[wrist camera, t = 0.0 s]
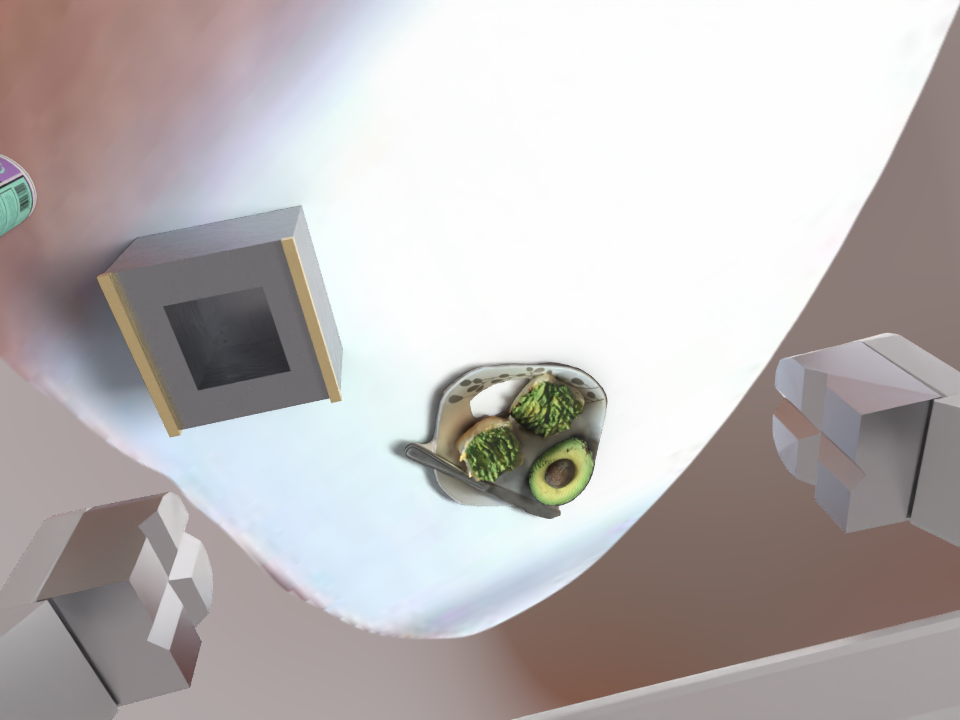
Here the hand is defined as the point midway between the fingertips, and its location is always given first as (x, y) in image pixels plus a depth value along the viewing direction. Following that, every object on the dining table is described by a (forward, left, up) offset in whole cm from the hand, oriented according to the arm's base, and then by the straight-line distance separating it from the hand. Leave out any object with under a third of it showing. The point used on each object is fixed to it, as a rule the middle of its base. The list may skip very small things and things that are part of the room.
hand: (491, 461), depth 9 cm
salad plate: (+34, +6, -49) cm, 60 cm away
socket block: (+14, -15, -48) cm, 52 cm away
